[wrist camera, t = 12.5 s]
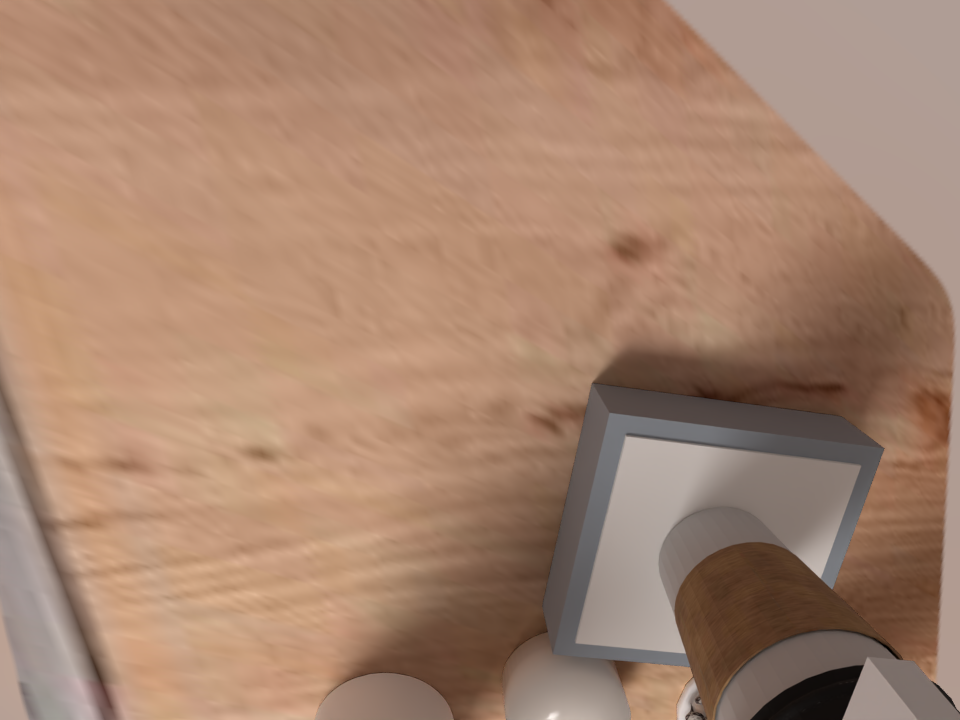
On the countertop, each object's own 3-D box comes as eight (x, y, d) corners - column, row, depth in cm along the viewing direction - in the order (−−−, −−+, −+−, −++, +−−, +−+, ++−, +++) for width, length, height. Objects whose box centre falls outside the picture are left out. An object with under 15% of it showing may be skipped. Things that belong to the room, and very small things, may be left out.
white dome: (512, 624, 43) (519, 668, 39) (627, 635, 44) (643, 679, 40) (492, 718, 45) (497, 766, 42) (602, 727, 46) (615, 775, 42)
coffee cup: (741, 451, 35) (948, 680, 21) (825, 564, 38) (1062, 838, 23) (600, 548, 37) (706, 826, 22) (690, 652, 39) (838, 962, 25)
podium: (592, 383, 38) (610, 414, 34) (841, 416, 40) (886, 450, 36) (542, 606, 42) (553, 657, 39) (768, 628, 44) (802, 679, 40)
